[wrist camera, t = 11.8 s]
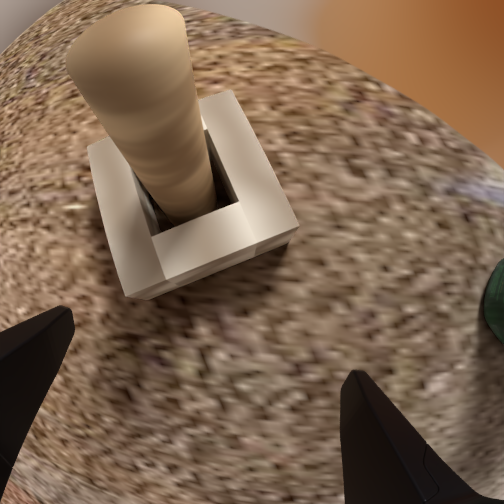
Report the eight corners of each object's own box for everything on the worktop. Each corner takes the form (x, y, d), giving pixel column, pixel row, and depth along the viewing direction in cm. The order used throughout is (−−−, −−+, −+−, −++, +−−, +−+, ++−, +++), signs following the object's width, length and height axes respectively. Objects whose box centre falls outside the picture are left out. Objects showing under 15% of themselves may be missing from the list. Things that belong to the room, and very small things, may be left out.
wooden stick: (174, 238, 23) (67, 104, 7) (158, 191, 23) (65, 35, 8) (225, 217, 23) (200, 49, 7) (206, 172, 24) (168, -7, 8)
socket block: (147, 300, 22) (125, 296, 17) (108, 172, 23) (86, 146, 19) (288, 242, 23) (299, 225, 18) (232, 123, 25) (231, 89, 20)
